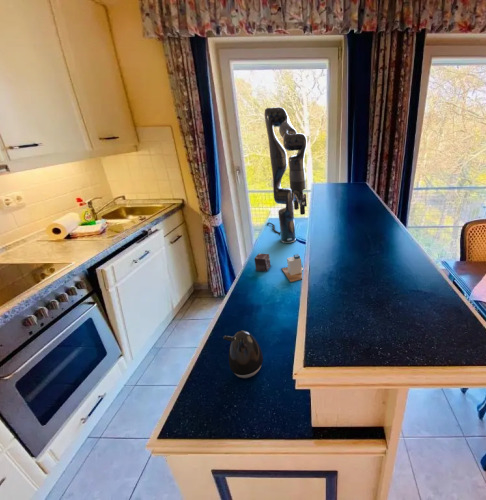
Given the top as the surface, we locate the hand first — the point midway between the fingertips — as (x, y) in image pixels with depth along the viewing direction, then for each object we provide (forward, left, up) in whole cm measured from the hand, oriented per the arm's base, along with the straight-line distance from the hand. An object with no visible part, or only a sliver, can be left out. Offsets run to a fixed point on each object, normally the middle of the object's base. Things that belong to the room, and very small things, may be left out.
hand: (299, 211), depth 139 cm
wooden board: (+10, -8, -28) cm, 31 cm away
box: (-2, -21, -28) cm, 35 cm away
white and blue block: (+10, -8, -28) cm, 31 cm away
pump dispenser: (+59, -42, -28) cm, 78 cm away
